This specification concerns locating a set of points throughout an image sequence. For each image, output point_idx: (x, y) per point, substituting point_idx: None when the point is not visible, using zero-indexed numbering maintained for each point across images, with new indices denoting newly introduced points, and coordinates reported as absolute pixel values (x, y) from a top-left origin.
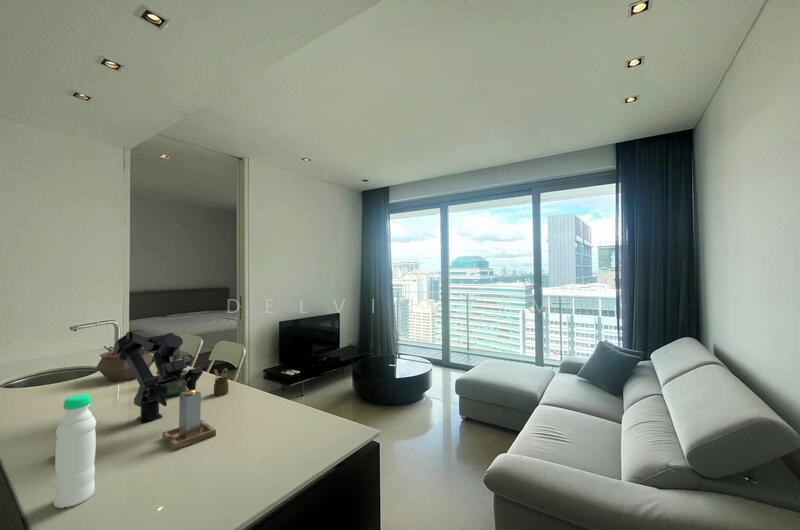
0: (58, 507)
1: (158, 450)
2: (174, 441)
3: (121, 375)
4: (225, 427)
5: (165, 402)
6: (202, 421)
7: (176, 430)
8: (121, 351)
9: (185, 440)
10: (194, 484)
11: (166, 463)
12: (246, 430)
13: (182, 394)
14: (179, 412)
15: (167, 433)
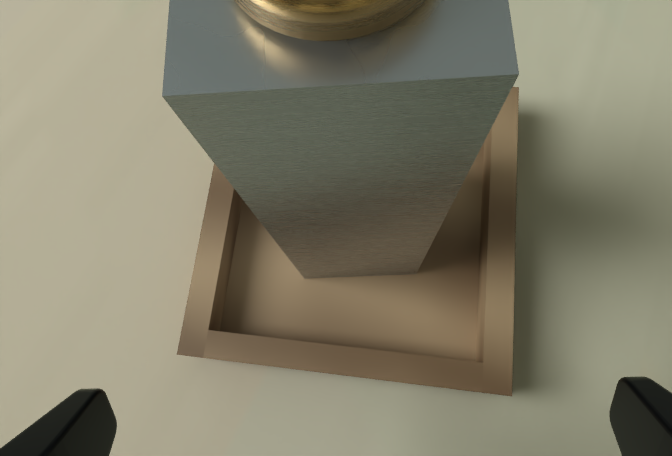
0: None
1: (579, 210)
2: (505, 135)
3: None
4: (132, 157)
5: (664, 404)
6: (194, 312)
7: (404, 353)
8: None
9: None
10: None
11: (594, 7)
12: (100, 4)
13: (466, 36)
14: (445, 211)
15: (489, 334)
